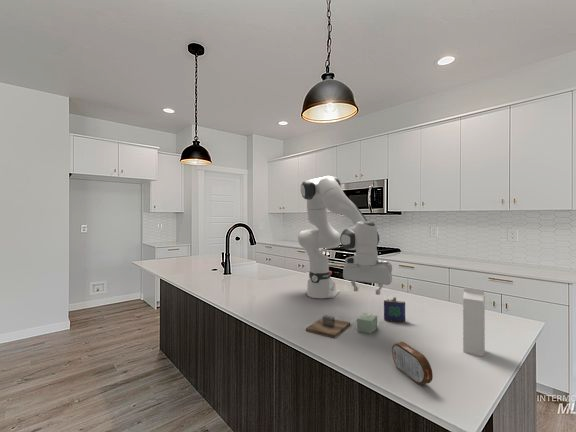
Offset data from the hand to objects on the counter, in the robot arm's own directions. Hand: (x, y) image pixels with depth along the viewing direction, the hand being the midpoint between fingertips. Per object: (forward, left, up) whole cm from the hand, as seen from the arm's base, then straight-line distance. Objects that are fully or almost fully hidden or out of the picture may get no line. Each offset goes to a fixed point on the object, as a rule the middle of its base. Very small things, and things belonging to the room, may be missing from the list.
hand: (366, 292), depth 124 cm
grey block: (+8, -14, -15) cm, 22 cm away
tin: (+28, +23, -16) cm, 39 cm away
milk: (-1, +38, -16) cm, 41 cm away
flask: (-16, +7, -16) cm, 24 cm away
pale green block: (0, 0, -15) cm, 15 cm away
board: (+8, -14, -15) cm, 22 cm away
